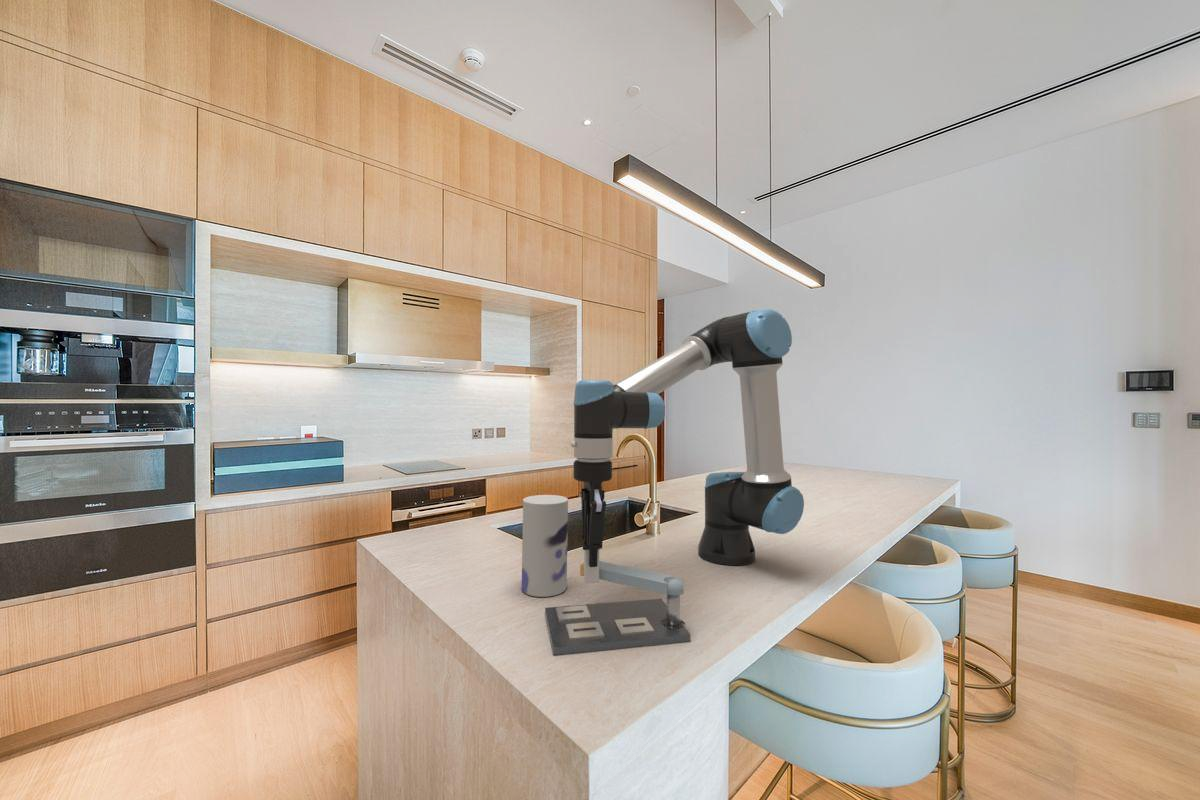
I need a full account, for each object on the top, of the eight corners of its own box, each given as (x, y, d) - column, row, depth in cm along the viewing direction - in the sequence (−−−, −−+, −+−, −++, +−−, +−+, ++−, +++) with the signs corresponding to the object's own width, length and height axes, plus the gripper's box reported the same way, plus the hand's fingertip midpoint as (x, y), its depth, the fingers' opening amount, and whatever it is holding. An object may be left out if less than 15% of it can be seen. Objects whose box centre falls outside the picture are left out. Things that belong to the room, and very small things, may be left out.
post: (679, 622, 86) (680, 588, 86) (688, 634, 82) (689, 597, 82) (657, 625, 85) (658, 589, 85) (665, 636, 81) (666, 599, 81)
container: (559, 599, 96) (560, 504, 96) (514, 595, 98) (516, 501, 98) (571, 581, 106) (573, 495, 106) (530, 577, 108) (532, 493, 108)
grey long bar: (686, 590, 85) (686, 578, 85) (678, 598, 81) (679, 585, 81) (590, 569, 95) (591, 558, 95) (580, 575, 91) (580, 564, 91)
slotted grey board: (661, 604, 94) (661, 596, 94) (690, 641, 80) (690, 632, 80) (544, 613, 89) (545, 605, 89) (553, 655, 75) (553, 645, 75)
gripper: (568, 456, 94) (567, 571, 94) (579, 463, 81) (577, 596, 81) (604, 455, 96) (602, 568, 95) (620, 463, 83) (618, 593, 83)
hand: (591, 581), depth 88 cm, fingers closed
